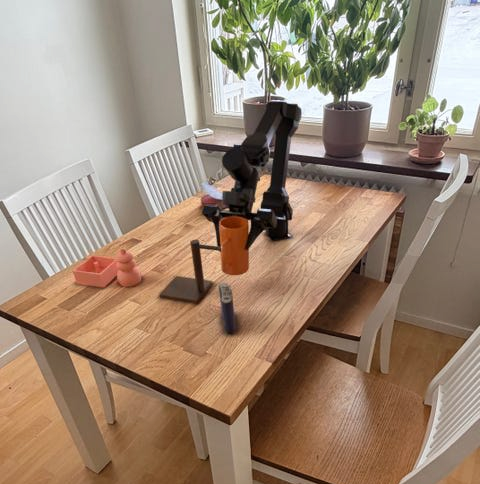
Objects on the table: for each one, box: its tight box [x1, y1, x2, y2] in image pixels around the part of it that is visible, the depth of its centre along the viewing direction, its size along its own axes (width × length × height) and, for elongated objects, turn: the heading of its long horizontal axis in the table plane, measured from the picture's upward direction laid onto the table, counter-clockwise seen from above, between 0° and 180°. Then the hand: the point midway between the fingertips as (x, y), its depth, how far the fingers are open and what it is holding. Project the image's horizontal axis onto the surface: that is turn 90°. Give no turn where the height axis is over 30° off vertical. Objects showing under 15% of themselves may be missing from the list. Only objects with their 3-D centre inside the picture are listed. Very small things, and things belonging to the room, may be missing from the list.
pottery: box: [72, 248, 142, 288], centre depth 122 cm, size 18×10×10 cm, turn 72°
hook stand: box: [158, 239, 221, 304], centre depth 112 cm, size 10×18×15 cm, turn 70°
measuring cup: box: [219, 216, 250, 276], centre depth 108 cm, size 11×7×13 cm, turn 158°
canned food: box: [200, 181, 226, 210], centre depth 164 cm, size 11×10×10 cm
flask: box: [218, 282, 237, 336], centre depth 101 cm, size 9×3×11 cm, turn 8°
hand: (232, 248), depth 109 cm, fingers closed on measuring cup, 7 cm apart
